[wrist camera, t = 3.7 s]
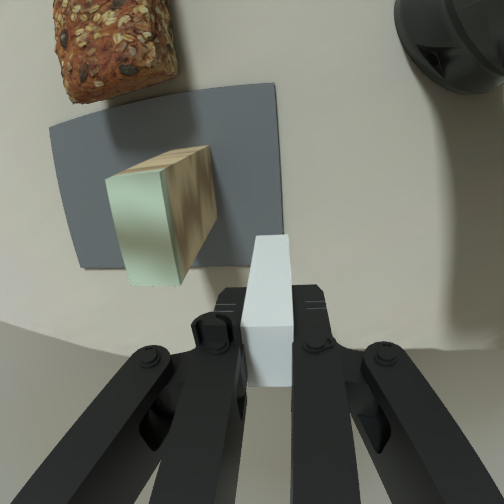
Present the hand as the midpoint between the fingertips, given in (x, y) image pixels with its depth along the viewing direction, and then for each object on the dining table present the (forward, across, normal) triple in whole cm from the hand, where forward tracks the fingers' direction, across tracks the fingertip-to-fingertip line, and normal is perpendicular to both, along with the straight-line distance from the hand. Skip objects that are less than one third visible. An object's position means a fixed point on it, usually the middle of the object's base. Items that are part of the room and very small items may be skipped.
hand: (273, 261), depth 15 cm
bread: (+19, -15, +20) cm, 32 cm away
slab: (+18, -9, 0) cm, 20 cm away
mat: (+19, -14, 0) cm, 23 cm away
